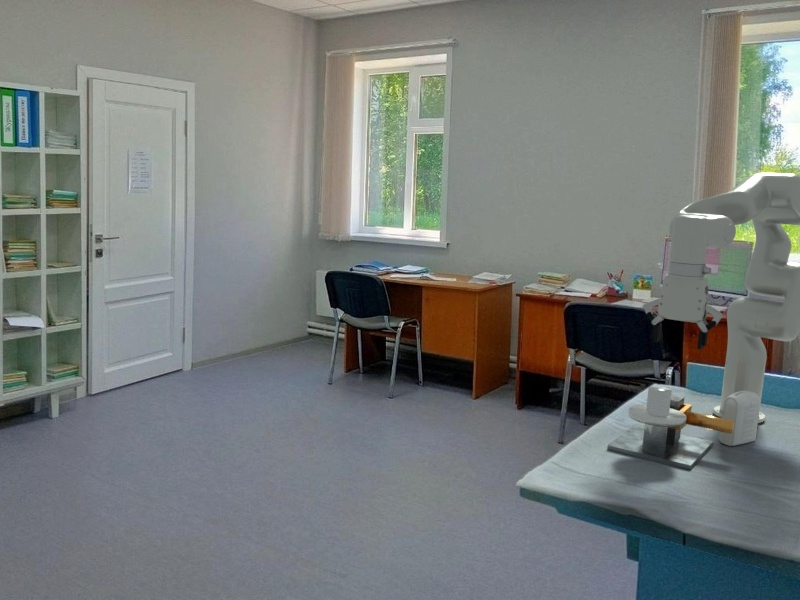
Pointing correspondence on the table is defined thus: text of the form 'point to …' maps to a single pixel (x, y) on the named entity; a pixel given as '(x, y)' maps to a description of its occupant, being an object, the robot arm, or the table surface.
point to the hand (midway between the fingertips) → (678, 344)
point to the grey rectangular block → (678, 404)
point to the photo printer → (741, 417)
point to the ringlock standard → (653, 435)
